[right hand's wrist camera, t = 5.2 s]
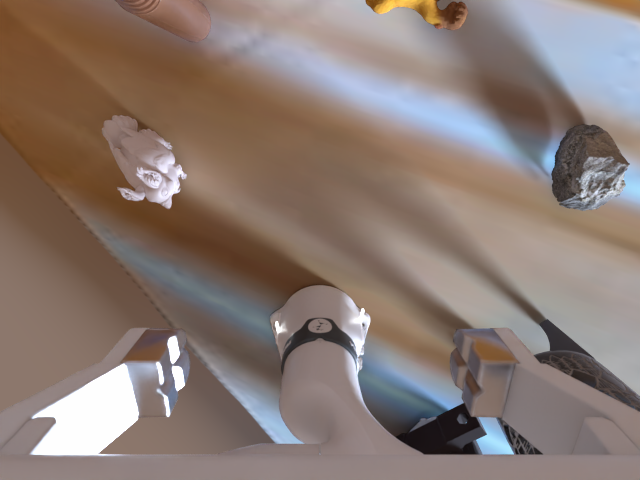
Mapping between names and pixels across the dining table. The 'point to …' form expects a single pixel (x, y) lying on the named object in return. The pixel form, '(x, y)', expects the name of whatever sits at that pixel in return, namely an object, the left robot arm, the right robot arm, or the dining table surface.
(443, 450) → the mechanical component
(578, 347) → the planter
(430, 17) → the toy
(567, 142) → the rock
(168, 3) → the bottle
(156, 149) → the figurine
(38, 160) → the dining table surface
